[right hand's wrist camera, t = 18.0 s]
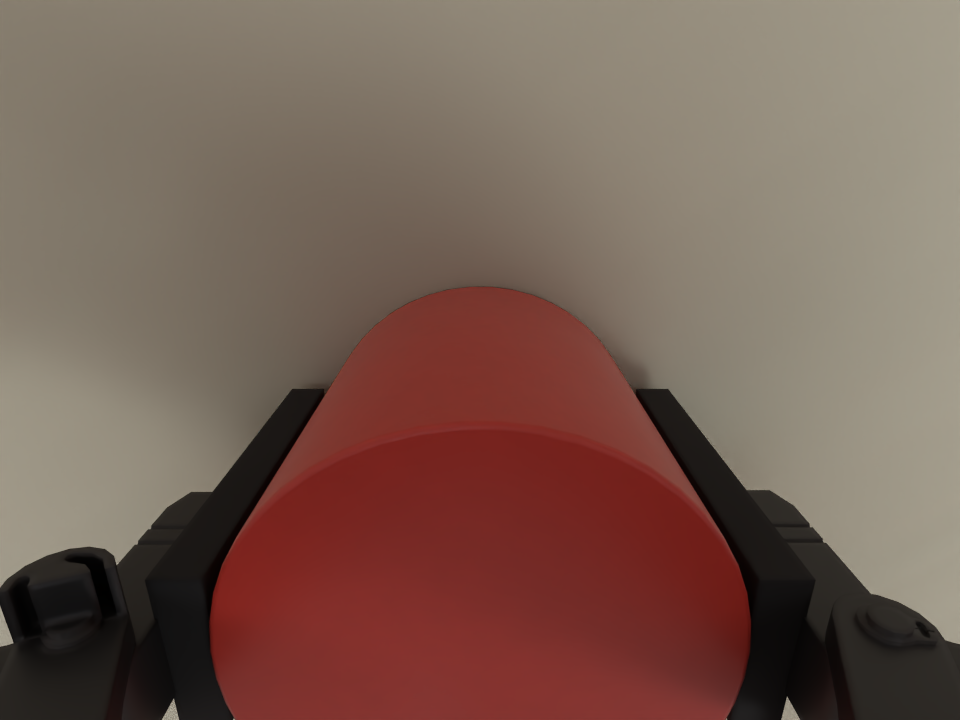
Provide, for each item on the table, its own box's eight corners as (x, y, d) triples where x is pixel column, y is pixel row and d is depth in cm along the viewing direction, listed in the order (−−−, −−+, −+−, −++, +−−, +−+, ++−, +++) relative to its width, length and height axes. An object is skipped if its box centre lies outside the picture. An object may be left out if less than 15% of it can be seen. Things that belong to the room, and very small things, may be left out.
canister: (690, 393, 14) (873, 608, 8) (516, 594, 17) (541, 898, 10) (433, 221, 13) (383, 302, 6) (280, 466, 15) (121, 720, 8)
